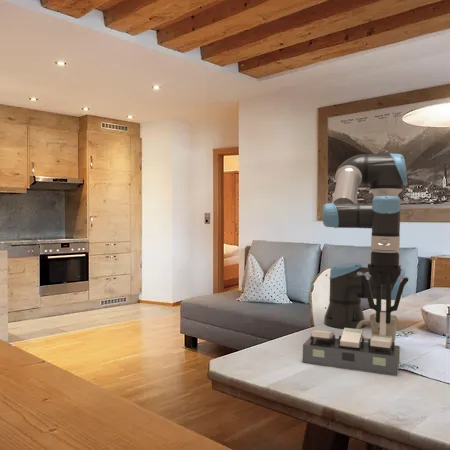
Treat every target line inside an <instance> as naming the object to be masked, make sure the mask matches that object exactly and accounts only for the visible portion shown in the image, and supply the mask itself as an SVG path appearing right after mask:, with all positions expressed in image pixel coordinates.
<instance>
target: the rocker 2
mask: <svg viewBox="0 0 450 450" xmlns="http://www.w3.org/2000/svg"><path fill="white" fill-rule="evenodd" d="M341 336H342V337H341V340H340V346H346V347H354V348H359V346H360V342H361V341H362V339H361V338H362V336H363V329H362V328H360V329H352V328H343V332H342V335H341Z"/></svg>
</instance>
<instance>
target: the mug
mask: <svg viewBox="0 0 450 450" xmlns="http://www.w3.org/2000/svg"><path fill="white" fill-rule="evenodd" d="M398 322H399V317H398V316H397V315H394V314H391V321H390V324H386V335H385V336H392V342H396V341H395V340H396V335H397V328H398ZM363 324H365V325H370V328H371V329H370V330H371V337H372V336H373V334H376V335H380V323H377V322H376V313H371V314H370V315H369V319H365V320H362V321H360V322H359V323H358V325H357V327H356V329H362V328H361V326H362V325H363ZM362 338H364V342H368V340H369V339H371V338H367V337H364V336H363V335H362ZM362 338H361V340H362ZM391 345H392V343H391Z"/></svg>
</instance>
